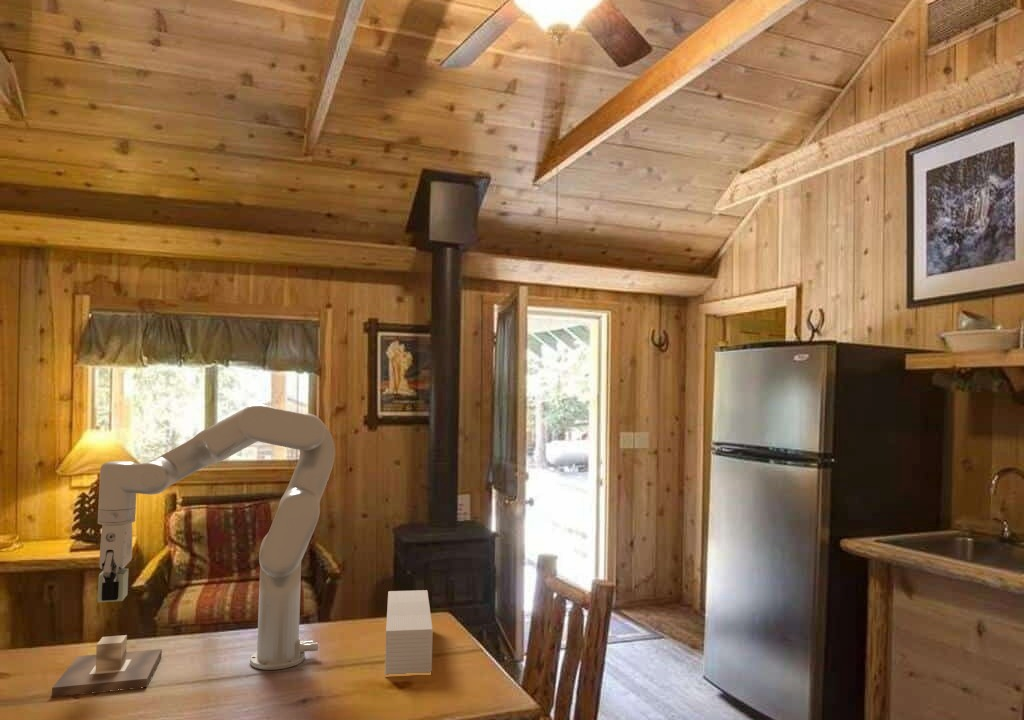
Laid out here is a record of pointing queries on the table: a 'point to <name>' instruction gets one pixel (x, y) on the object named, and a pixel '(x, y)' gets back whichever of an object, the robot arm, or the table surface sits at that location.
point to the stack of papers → (408, 633)
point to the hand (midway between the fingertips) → (113, 595)
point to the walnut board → (107, 674)
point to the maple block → (111, 653)
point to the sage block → (122, 585)
